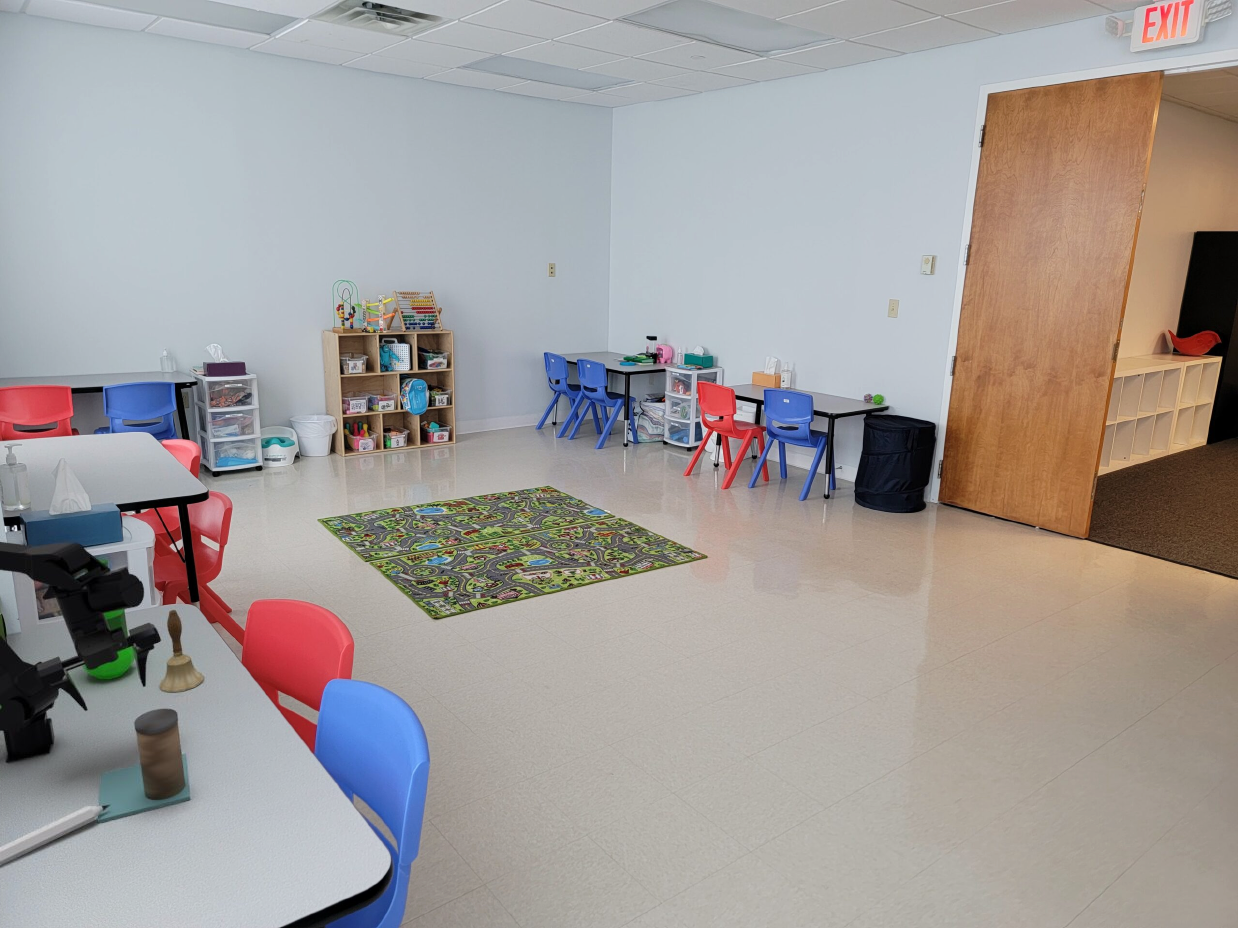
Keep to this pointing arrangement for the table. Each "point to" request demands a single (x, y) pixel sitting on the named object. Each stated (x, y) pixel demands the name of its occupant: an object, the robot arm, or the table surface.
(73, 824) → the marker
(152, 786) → the brown upright cylinder
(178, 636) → the hand bell
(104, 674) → the plastic bottle
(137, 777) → the mat
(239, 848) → the table surface
